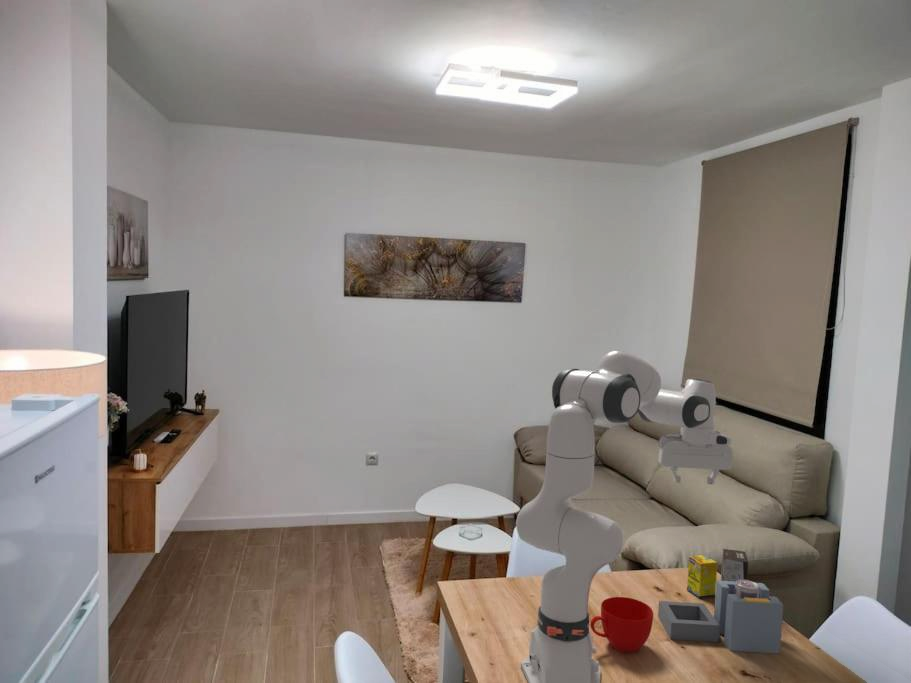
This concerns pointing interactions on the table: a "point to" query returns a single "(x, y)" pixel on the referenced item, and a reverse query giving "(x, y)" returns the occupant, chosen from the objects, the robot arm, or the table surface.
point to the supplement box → (702, 576)
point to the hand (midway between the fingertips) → (693, 483)
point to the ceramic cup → (624, 623)
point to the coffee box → (734, 565)
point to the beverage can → (746, 589)
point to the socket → (748, 619)
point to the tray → (688, 621)
